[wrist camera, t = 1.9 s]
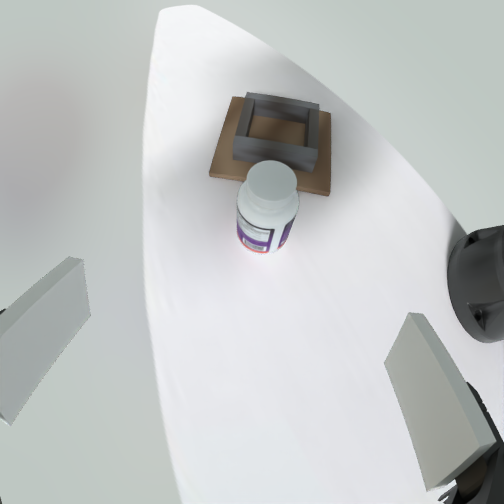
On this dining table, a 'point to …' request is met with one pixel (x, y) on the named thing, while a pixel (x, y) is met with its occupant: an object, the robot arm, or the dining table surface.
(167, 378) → the dining table surface
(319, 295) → the dining table surface
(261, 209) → the pill bottle
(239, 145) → the square framed tray
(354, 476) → the dining table surface
